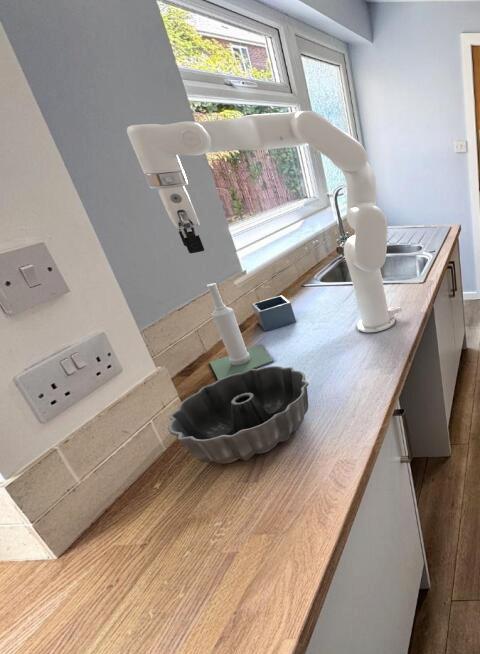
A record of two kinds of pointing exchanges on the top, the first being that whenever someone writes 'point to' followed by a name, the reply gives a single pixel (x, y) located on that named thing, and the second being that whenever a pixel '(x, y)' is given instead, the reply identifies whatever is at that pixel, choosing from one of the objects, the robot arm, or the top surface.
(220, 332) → the bottle
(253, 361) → the mat
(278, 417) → the bundt pan
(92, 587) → the top surface
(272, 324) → the box
